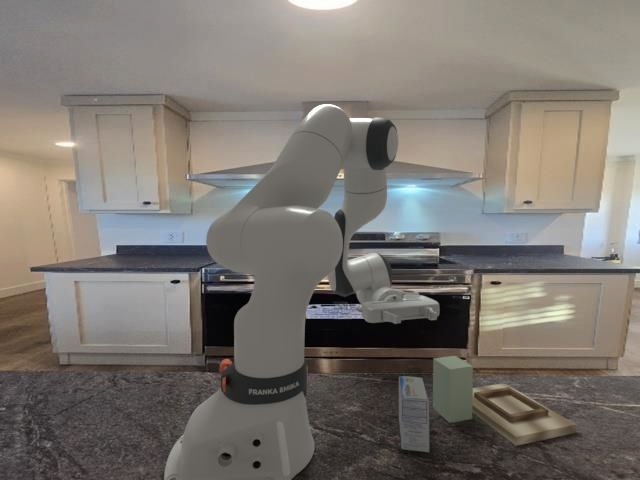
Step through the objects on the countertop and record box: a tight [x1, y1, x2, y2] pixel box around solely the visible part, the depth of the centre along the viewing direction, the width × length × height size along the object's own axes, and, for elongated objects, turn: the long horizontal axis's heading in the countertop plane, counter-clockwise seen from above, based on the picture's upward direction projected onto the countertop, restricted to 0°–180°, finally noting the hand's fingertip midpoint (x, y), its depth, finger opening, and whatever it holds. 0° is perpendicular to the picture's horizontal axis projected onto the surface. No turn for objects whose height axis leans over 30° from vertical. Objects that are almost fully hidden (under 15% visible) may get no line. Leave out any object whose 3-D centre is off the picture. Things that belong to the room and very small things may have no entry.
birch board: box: [472, 383, 577, 447], centre depth 59 cm, size 13×15×2 cm
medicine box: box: [398, 375, 430, 453], centre depth 53 cm, size 8×4×9 cm, turn 168°
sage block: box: [432, 355, 474, 424], centre depth 59 cm, size 5×5×10 cm
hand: (416, 318), depth 72 cm, fingers open, 8 cm apart
